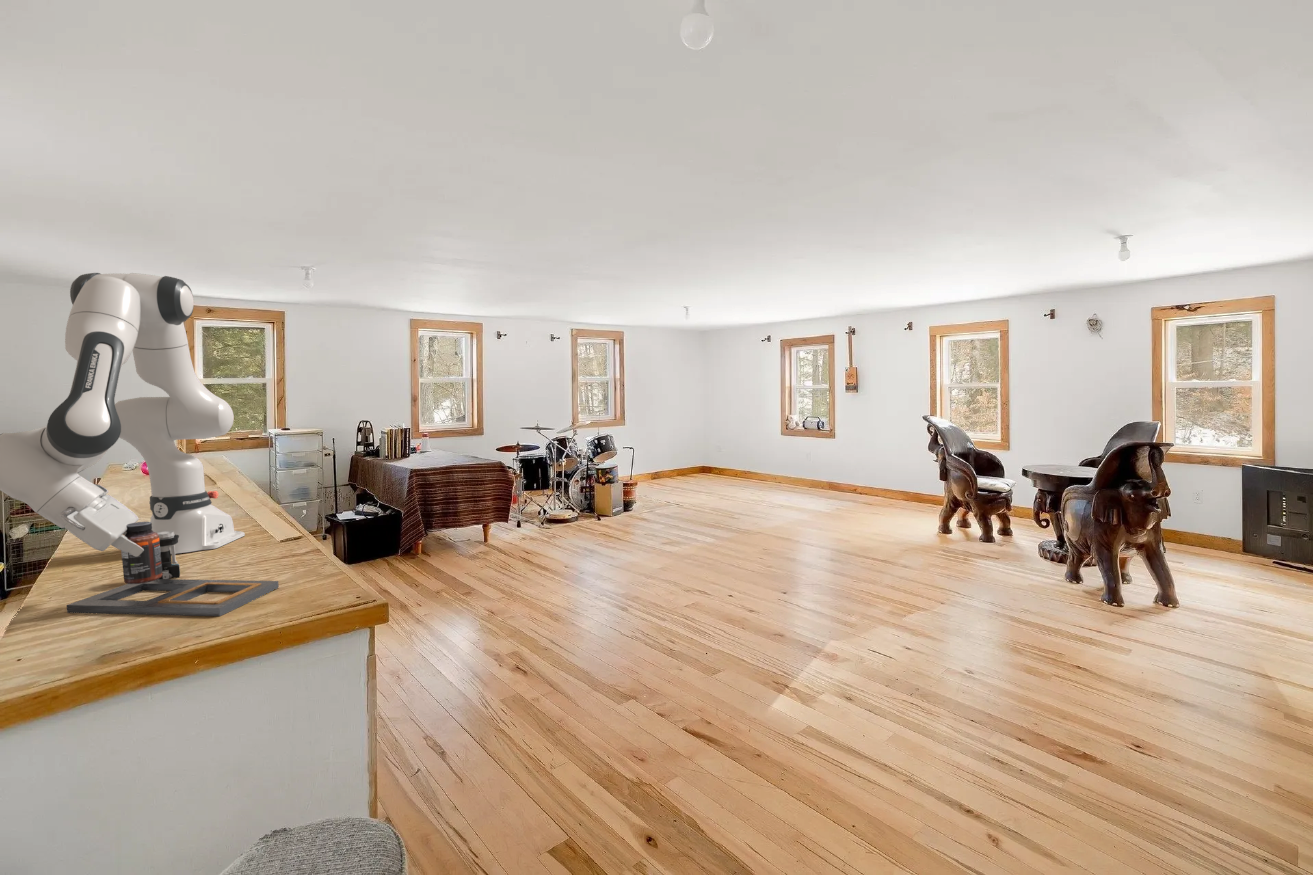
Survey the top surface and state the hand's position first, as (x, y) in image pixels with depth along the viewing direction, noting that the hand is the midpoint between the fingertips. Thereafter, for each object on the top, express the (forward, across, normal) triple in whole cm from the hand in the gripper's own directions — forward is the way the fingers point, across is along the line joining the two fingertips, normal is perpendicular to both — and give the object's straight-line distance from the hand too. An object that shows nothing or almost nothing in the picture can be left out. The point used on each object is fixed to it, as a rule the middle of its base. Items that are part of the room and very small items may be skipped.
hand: (145, 548), depth 125 cm
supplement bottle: (+4, 0, +5) cm, 6 cm away
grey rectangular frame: (+11, -4, +3) cm, 12 cm away
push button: (+7, +15, +7) cm, 18 cm away
